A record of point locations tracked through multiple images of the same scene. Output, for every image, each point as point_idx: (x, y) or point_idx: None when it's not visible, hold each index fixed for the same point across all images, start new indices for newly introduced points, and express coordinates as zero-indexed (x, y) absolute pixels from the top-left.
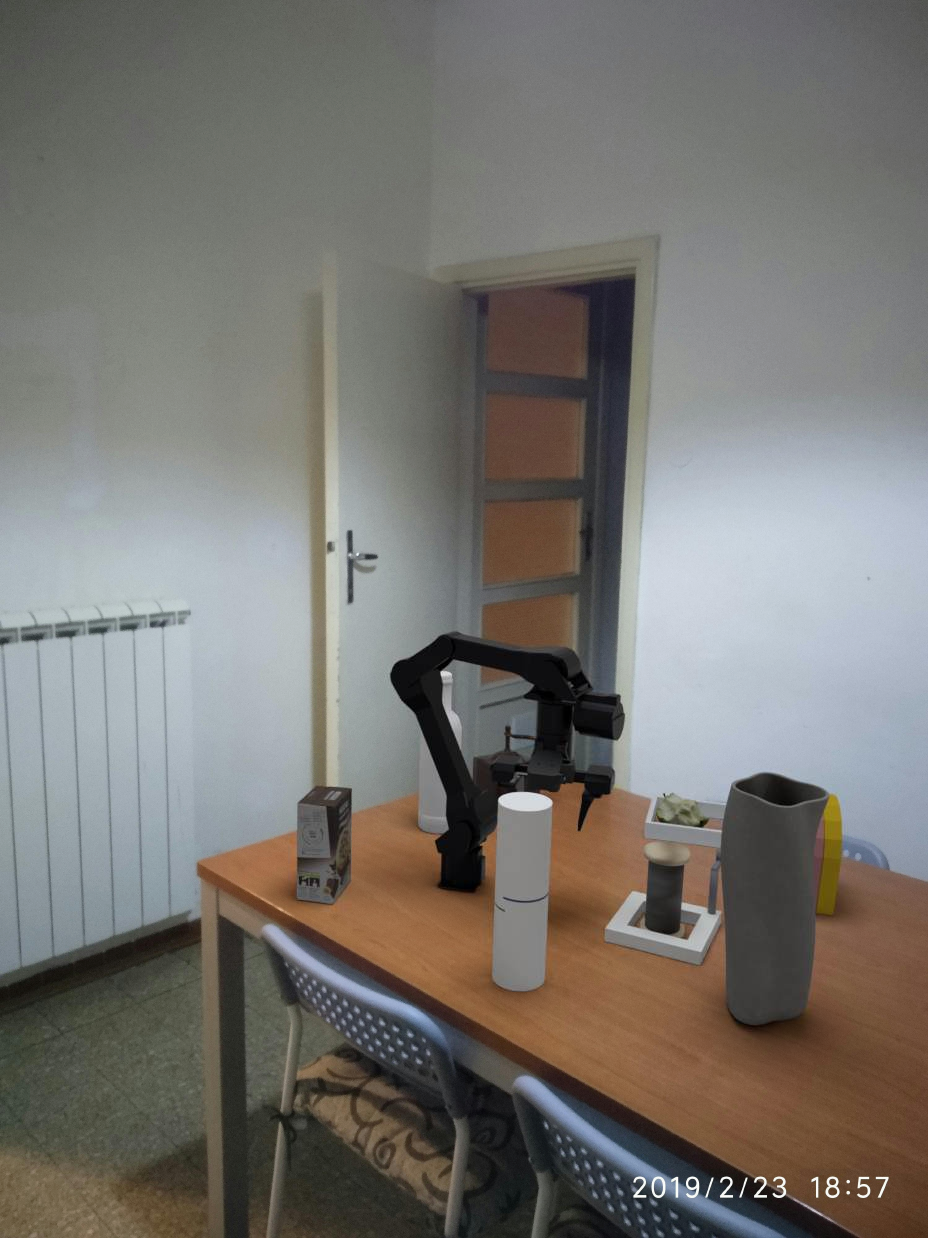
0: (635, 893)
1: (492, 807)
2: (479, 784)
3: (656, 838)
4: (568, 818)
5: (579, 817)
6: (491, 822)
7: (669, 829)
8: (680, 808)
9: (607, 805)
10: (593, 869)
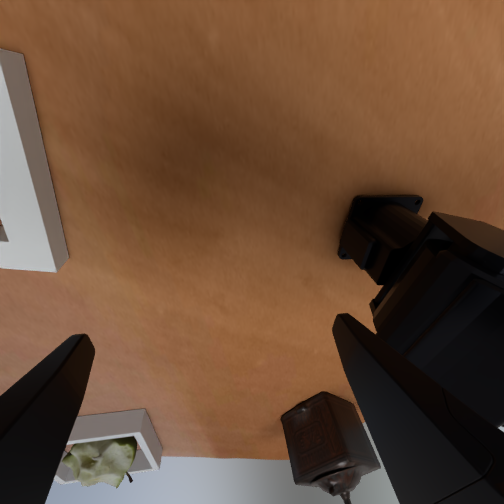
0: (44, 265)
1: (426, 372)
2: (357, 427)
3: (128, 412)
4: (245, 410)
5: (22, 407)
6: (406, 323)
7: (107, 430)
8: (95, 468)
9: (210, 439)
10: (178, 330)
